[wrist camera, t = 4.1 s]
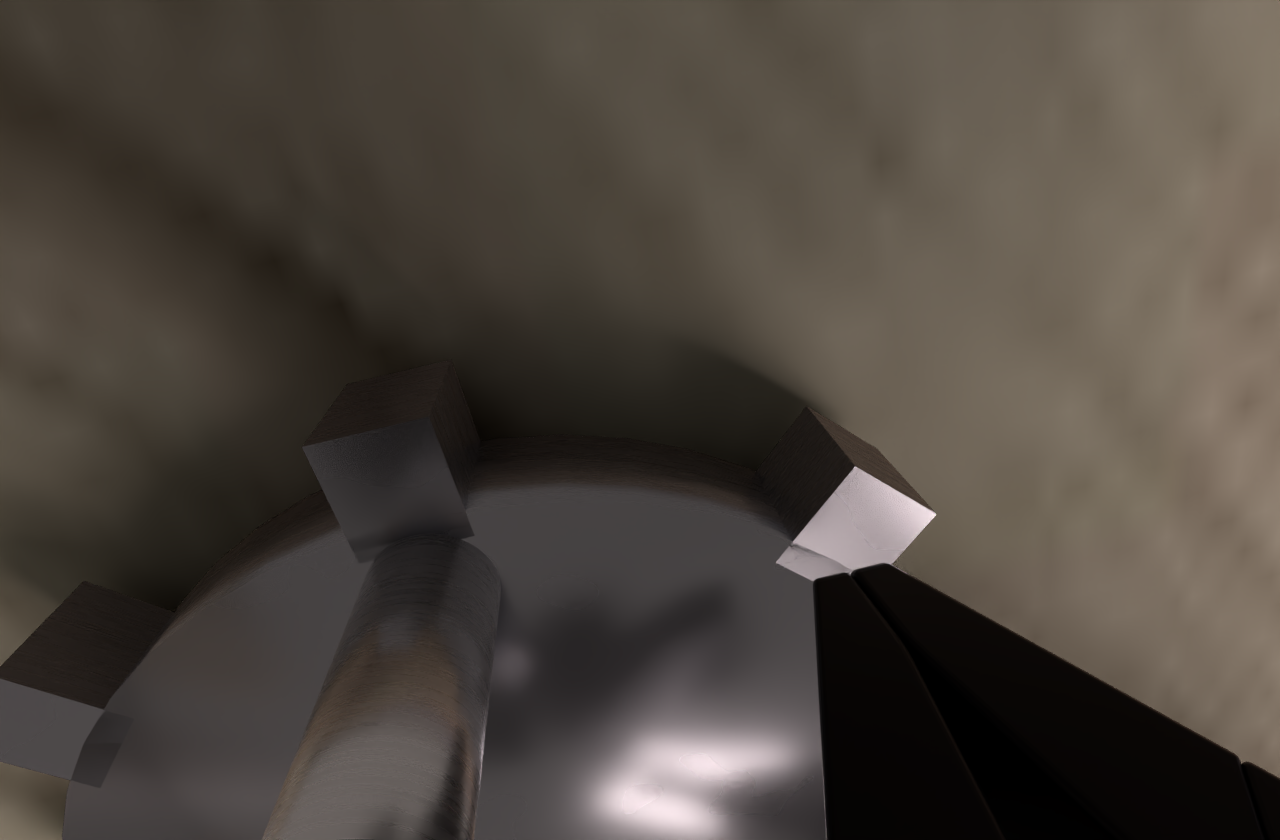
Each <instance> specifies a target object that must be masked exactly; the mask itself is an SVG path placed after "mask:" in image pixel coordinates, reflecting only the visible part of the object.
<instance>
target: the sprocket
mask: <svg viewBox="0 0 1280 840" xmlns="http://www.w3.org/2000/svg"><path fill="white" fill-rule="evenodd" d="M302 449H303V451H304V453H305V455H306V457H307V459H308V461H309V463H310V465H311V467H312V469H313V471H314V473H315V475H316V477H317V479H318V481H319V483H320V485H321V487H322V490H321V491H318V492H316V493H314V494H312V495H310V496H308V497H306V498H305V499H303V500H301V501H300V502H298V503H297V504H295V505H293V506H292V507H290V508H289V509H287V510H285V511H284V512H282V513H280V514H279V515H277V516H276V517H274V518H272V519H271V520H269V521H268V522H266V523H264V524H263V525H261V526H259V527H258V528H257V529H256V530H254V531H253V532H252V533H251V534H250V535H248V536H247V537H246V538H245V539H244V540H242V541H241V542H240V543H239V544H238V545H237V546H235V547H234V548H233V549H232V550H231V551H229V552H228V553H227V554H226V555H225V556H223V557H222V558H221V559H220V560H219V561H217V562H216V563H215V564H214V565H213V566H212V568H211V569H210V570H209V571H208V572H207V573H206V575H205V576H204V577H203V578H202V579H201V580H200V581H199V583H198V584H197V585H196V586H195V587H194V588H193V590H192V591H191V592H190V593H189V594H188V595H187V596H186V598H185V599H184V600H183V601H182V602H181V603H180V605H179V606H178V608H177V609H176V610H175V612H172V611H169V610H166V609H163V608H160V607H157V606H155V605H152V604H149V603H146V602H143V601H140V600H138V599H135V598H132V597H129V596H126V595H123V594H120V593H118V592H115V591H112V590H109V589H106V588H103V587H100V586H98V585H95V584H92V583H89V582H86V581H83V582H82V583H81V584H80V585H79V586H78V587H77V588H76V589H75V590H74V591H73V592H72V593H71V594H70V595H69V596H68V597H67V599H66V600H65V601H64V602H63V603H62V604H61V605H60V606H59V607H58V608H57V609H56V610H55V611H54V612H53V613H52V614H51V615H50V616H49V617H48V618H47V619H46V620H45V621H44V622H43V623H42V624H41V625H40V626H39V627H38V628H37V629H36V630H35V631H34V632H33V633H32V635H31V636H30V637H29V638H28V639H27V640H26V641H25V642H24V643H23V644H22V645H21V646H20V647H19V648H18V649H17V650H16V651H15V652H14V653H13V654H12V655H11V656H10V657H9V658H8V659H7V660H6V661H5V662H4V663H3V664H2V665H1V666H0V762H3V763H7V764H11V765H15V766H19V767H22V768H26V769H30V770H34V771H37V772H41V773H45V774H49V775H52V776H56V777H60V778H64V779H67V780H71V781H70V784H69V787H68V790H67V796H66V805H65V814H64V824H63V833H62V839H63V840H826V827H825V808H824V789H823V771H822V752H821V733H820V714H819V696H818V677H817V658H816V639H815V621H814V602H813V582H814V580H815V579H817V578H820V577H825V576H829V575H833V574H837V573H841V572H846V573H848V574H851V573H852V571H853V570H855V569H858V568H862V567H866V566H870V565H874V564H879V563H888V564H891V565H892V563H893V562H894V561H895V560H896V559H897V558H898V557H899V556H900V555H901V553H902V552H903V551H904V550H905V549H906V548H907V547H908V546H909V544H910V543H911V542H912V541H913V540H914V539H915V538H916V537H917V536H918V534H919V533H920V532H921V531H922V530H923V529H924V528H925V527H926V526H927V524H928V523H929V522H930V521H931V520H932V519H933V518H934V517H935V516H936V513H935V512H934V511H933V509H932V508H931V507H930V506H929V505H928V504H927V503H926V502H925V501H924V500H923V498H922V497H921V496H920V495H919V494H918V493H917V492H916V491H915V490H914V489H913V487H912V486H911V485H910V484H909V483H908V482H907V481H906V480H905V479H904V478H903V477H902V475H901V474H900V473H899V472H898V471H897V470H896V469H895V468H894V467H893V466H892V464H891V463H890V462H889V461H888V460H887V459H886V458H885V457H884V456H883V455H882V454H881V452H880V451H879V450H878V449H877V448H875V447H873V446H872V445H870V444H868V443H867V442H865V441H863V440H862V439H860V438H858V437H857V436H855V435H854V434H852V433H850V432H849V431H847V430H845V429H844V428H842V427H840V426H839V425H837V424H835V423H834V422H832V421H830V420H829V419H827V418H825V417H824V416H822V415H821V414H819V413H817V412H816V411H814V410H812V409H811V408H809V407H807V406H806V407H805V409H804V410H803V411H802V413H801V414H800V415H799V416H798V418H797V419H796V420H795V422H794V423H793V424H792V425H791V427H790V428H789V429H788V431H787V432H786V433H785V435H784V436H783V437H782V438H781V440H780V441H779V442H778V444H777V445H776V446H775V447H774V449H773V450H772V451H771V453H770V454H769V455H768V456H767V458H766V459H765V460H764V462H763V463H762V464H761V466H760V467H759V468H758V469H757V471H756V472H754V471H752V470H750V469H748V468H746V467H744V466H740V465H737V464H734V463H731V462H728V461H724V460H721V459H718V458H715V457H711V456H708V455H705V454H702V453H699V452H695V451H692V450H689V449H684V448H679V447H673V446H667V445H662V444H656V443H650V442H645V441H639V440H634V439H628V438H613V437H595V436H578V435H547V436H531V437H514V438H498V439H491V440H485V441H480V439H479V436H478V433H477V430H476V428H475V425H474V422H473V419H472V416H471V413H470V411H469V408H468V405H467V402H466V399H465V397H464V394H463V391H462V388H461V385H460V383H459V380H458V377H457V374H456V371H455V369H454V366H453V363H452V360H447V361H442V362H438V363H434V364H430V365H426V366H421V367H417V368H413V369H409V370H405V371H401V372H396V373H392V374H388V375H384V376H380V377H376V378H371V379H367V380H363V381H359V382H355V383H351V384H347V385H346V386H345V388H344V389H343V391H342V392H341V393H340V395H339V396H338V398H337V399H336V400H335V402H334V403H333V404H332V406H331V407H330V409H329V410H328V411H327V413H326V414H325V416H324V417H323V418H322V420H321V421H320V422H319V424H318V425H317V427H316V428H315V429H314V431H313V432H312V434H311V435H310V436H309V438H308V439H307V441H306V442H305V443H304V445H303V446H302Z"/></svg>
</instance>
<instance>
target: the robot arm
mask: <svg viewBox="0 0 1280 840" xmlns="http://www.w3.org/2000/svg"><path fill="white" fill-rule="evenodd" d="M813 602H814V621H815V639H816V658H817V677H818V696H819V714H820V733H821V752H822V771H823V789H824V808H825V827H826V840H1280V778H1278V777H1277V776H1275V775H1273V774H1271V773H1269V772H1267V771H1266V770H1264V769H1262V768H1260V767H1258V766H1257V765H1255V764H1253V763H1251V762H1244V763H1242V764H1241V762H1240V759H1239V758H1238V756H1237V755H1236V754H1234V753H1232V752H1230V751H1229V750H1227V749H1225V748H1223V747H1221V746H1220V745H1218V744H1216V743H1214V742H1212V741H1211V740H1209V739H1207V738H1205V737H1203V736H1201V735H1200V734H1198V733H1196V732H1194V731H1192V730H1191V729H1189V728H1187V727H1185V726H1183V725H1182V724H1180V723H1178V722H1176V721H1174V720H1172V719H1171V718H1169V717H1167V716H1165V715H1163V714H1162V713H1160V712H1158V711H1156V710H1154V709H1152V708H1151V707H1149V706H1147V705H1145V704H1143V703H1142V702H1140V701H1138V700H1136V699H1134V698H1133V697H1131V696H1129V695H1127V694H1125V693H1123V692H1122V691H1120V690H1118V689H1116V688H1114V687H1113V686H1111V685H1109V684H1107V683H1105V682H1104V681H1102V680H1100V679H1098V678H1096V677H1094V676H1093V675H1091V674H1089V673H1087V672H1085V671H1084V670H1082V669H1080V668H1078V667H1076V666H1074V665H1073V664H1071V663H1069V662H1067V661H1065V660H1064V659H1062V658H1060V657H1058V656H1056V655H1055V654H1053V653H1051V652H1049V651H1047V650H1045V649H1044V648H1042V647H1040V646H1038V645H1036V644H1035V643H1033V642H1031V641H1029V640H1027V639H1026V638H1024V637H1022V636H1020V635H1018V634H1016V633H1015V632H1013V631H1011V630H1009V629H1007V628H1006V627H1004V626H1002V625H1000V624H998V623H997V622H995V621H993V620H991V619H989V618H987V617H986V616H984V615H982V614H980V613H978V612H977V611H975V610H973V609H971V608H969V607H967V606H966V605H964V604H962V603H960V602H958V601H957V600H955V599H953V598H951V597H949V596H948V595H946V594H944V593H942V592H940V591H938V590H937V589H935V588H933V587H931V586H929V585H928V584H926V583H924V582H922V581H920V580H919V579H917V578H915V577H913V576H911V575H909V574H908V573H906V572H904V571H902V570H900V569H899V568H897V567H895V566H893V565H891V564H888V563H879V564H874V565H870V566H866V567H862V568H858V569H855V570H853V571H852V573H851V574H848V573H846V572H841V573H837V574H833V575H829V576H825V577H820V578H817V579H815V580H814V582H813Z"/></svg>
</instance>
